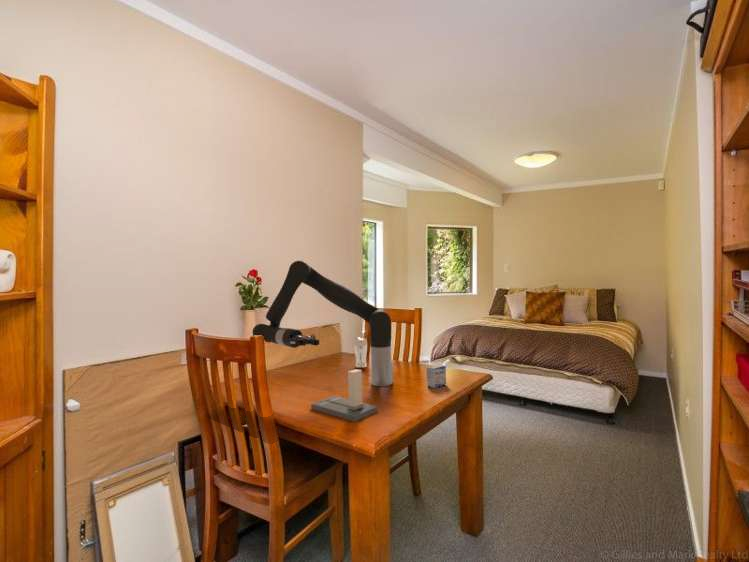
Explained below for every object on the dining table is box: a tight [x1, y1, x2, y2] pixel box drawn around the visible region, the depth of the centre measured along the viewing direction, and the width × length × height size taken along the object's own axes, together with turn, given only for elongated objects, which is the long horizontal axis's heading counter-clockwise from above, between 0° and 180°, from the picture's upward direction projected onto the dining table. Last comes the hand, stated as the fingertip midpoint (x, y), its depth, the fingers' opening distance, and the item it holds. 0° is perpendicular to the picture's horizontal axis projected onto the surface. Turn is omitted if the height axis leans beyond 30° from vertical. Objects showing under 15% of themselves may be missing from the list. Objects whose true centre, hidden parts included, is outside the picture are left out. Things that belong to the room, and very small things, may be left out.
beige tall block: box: [347, 368, 365, 410], centre depth 139 cm, size 5×4×13 cm
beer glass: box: [353, 337, 368, 369], centre depth 211 cm, size 7×7×15 cm
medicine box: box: [426, 364, 447, 389], centre depth 171 cm, size 8×4×9 cm, turn 129°
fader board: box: [310, 395, 378, 423], centre depth 143 cm, size 12×22×2 cm, turn 51°
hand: (317, 342), depth 152 cm, fingers closed
